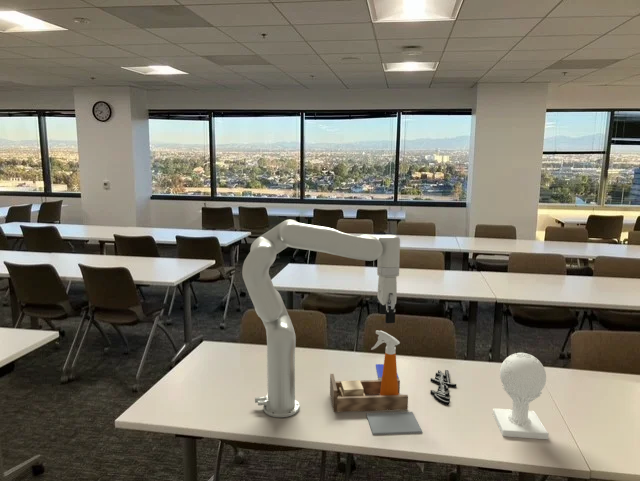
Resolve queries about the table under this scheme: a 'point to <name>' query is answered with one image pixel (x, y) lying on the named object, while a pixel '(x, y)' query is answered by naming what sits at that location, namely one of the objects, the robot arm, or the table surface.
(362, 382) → the wooden box
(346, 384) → the offcut top
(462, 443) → the table surface
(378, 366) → the hard drive
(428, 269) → the table surface
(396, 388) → the spray bottle
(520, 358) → the trophy
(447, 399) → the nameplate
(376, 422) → the mat
